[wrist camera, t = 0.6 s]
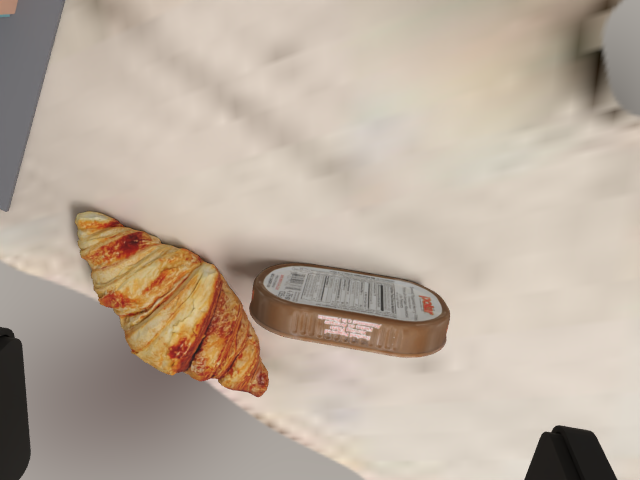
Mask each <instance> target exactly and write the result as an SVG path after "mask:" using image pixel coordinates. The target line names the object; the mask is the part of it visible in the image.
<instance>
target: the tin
mask: <svg viewBox="0 0 640 480" xmlns="http://www.w3.org/2000/svg"><path fill="white" fill-rule="evenodd" d="M249 310H250V314H251V316H252V318H253V319H254V320H255V322H256V323H257V324H259V325H260V326H262V327H263V328H265V329H266V330H268V331H270V332H273V333H275V334H277V335H280V336H283V337H287V338H292V339H297V340H303V341H309V342H315V343H320V344H326V345H332V346H338V347H344V348H350V349H355V350H361V351H367V352H373V353H378V354H384V355H389V356H396V357H405V358H408V357H422V356H428V355H431V354H434V353H436V352H438V351H439V350H441V349H442V348H443V346H444V345H445V343H446V333H447V329H448V325H449V320H450V311H449V308H448V307H447V305H446V303H445V302H444V300H443V299H442V298H441V297H440V296H439V295H438V294H437V293H435V292H434V291H432V290H430V289H428V288H426V287H424V286H422V285H419V284H417V283H414V282H411V281H407V280H403V279H398V278H392V277H386V276H380V275H374V274H369V273H363V272H357V271H351V270H345V269H338V268H332V267H326V266H319V265H313V264H303V263H288V264H280V265H275V266H272V267H269V268H267V269H265V270H264V271H262V272H261V273H260V274H259V275H258V276H257V278H256V279H255V281H254V284H253V291H252V301H251V303H250V307H249Z"/></svg>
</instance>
